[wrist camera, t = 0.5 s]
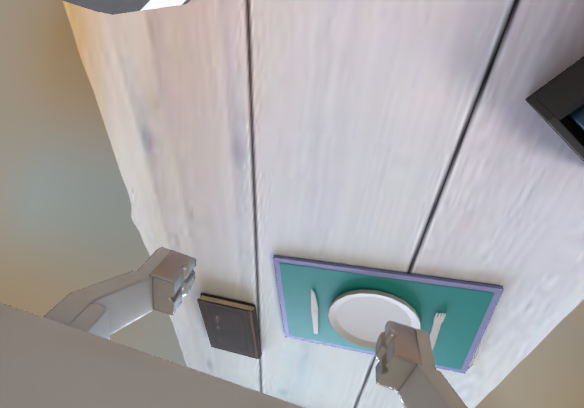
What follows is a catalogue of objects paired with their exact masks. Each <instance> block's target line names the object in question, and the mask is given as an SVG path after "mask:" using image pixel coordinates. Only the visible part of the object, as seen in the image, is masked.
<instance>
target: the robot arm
mask: <svg viewBox="0 0 584 408" xmlns="http://www.w3.org/2000/svg"><path fill="white" fill-rule="evenodd" d="M195 266H196V259H195V258H193V257H190V256H187V255H184V254H182V253H179V252H176V251H172V250H169V249H166V248H164V247H161V248H159V249H157V250H156V251H155V252H154V254H153V255H152V256H151V257H150V258H149V259H148V260H147V261H146V262H145V263H144V264H143V265H142V266H141V267H140V268H139V269H138V270H137V271H131V272H128V273H125V274H122V275H119V276H117V277H113V278H111V279H108V280H105V281H103V282H100V283H97V284H94V285H91V286H88V287H85V288H83V289H80V290H77V291H74V292H71V293H70V294H68V295H67V296H66V297H65V298H64V299H63V300H62V301H61V302H59V303H58V304H57V305H56V306H55V307H54V308H53V309H52V310H50V311H49V312H48V313H47V314H46V315H45V316H44V317H42V316H39V315H36V314H33V313H30V312H28V311H24V310H22V309H18V308H16V307H13V306H10V305H7V304H4V303H2V302H0V408H304V407H301V406H298V405H295V404H292V403H289V402H286V401H284V400H281V399H278V398H275V397H272V396H269V395H266V394H263V393H261V392H258V391H255V390H252V389H249V388H246V387H243V386H240V385H238V384H235V383H232V382H229V381H226V380H223V379H220V378H218V377H215V376H212V375H209V374H206V373H203V372H200V371H197V370H195V369H192V368H189V367H186V366H182V365H180V364H177V363H174V362H171V361H169V360H166V359H163V358H160V357H157V356H154V355H151V354H148V353H145V352H143V351H139V350H137V349H134V348H131V347H128V346H125V345H122V344H120V343H117V342H114V341H111V338H110V335H111V334H113V333H114V332H116V331H118V330H119V329H121V328H123V327H125V326H127V325H128V324H130V323H132V322H134V321H135V320H137V319H139V318H141V317H142V316H144V315H146V314H148V313H149V312H151V311H152V310H153V309H154V310H157V311H160V312H163V313H167V314H170V315H174V313H175V312H176V310H177V309H178V307H179V306H180V304H181V303H182V297H183V296H185V295H187V294H188V293H189V291H190V290H191V287H192V285H193V283H194V279H195V272H194V270H193V269H194V267H195ZM375 357H376V359H377V360H378V364H377V366H376V384H379V385H381V386H384V387H387V388H389V389H392V390H395V391H398V392H397V393H398V395H399V397H400V399H401V401H402V403H403V405H404V407H405V408H467V406H466V405H465V404H464V402H463V401H462V400H461V398H460V397H459V396H458V394H457V393H456V392H455V390H454V389H453V388H452V387H451V385H450V384H449V383H448V381H447V380H446V379H445V377H444V376H443V375H442V373H441V372H440V371H437V370H436V366H435V361H434V356H433V351H432V347H431V342H430V337H429V334H428V332H426V331H423V330H420V329H417V328H413V327H410V326H407V325H404V324H400V323H397V322H394V321H391V320H389V321H388V322H387V323H386V325H385V332H382V333H380V335H379V337H378V340H377V343H376V350H375Z"/></svg>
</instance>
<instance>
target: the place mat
mask: <svg viewBox="0 0 584 408" xmlns="http://www.w3.org/2000/svg"><path fill="white" fill-rule="evenodd" d="M273 259H274V266H275V272H276V279H277V285H278V292H279V298H280V305H281V311H282V318H283V324H284V331H285V337H287V338H292V339H297V340H302V341H307V342H312V343H317V344H322V345H327V346H332V347H337V348H341V349H346V350H351V351H356V352H361V353H366V354H371V355H375V350H376V343H377V340H378V337H379V335H380V333H382V332H385V325H386V323H387V322H388V321H389V320H391V321H394V322H397V323H400V324H404V325H407V326H410V327H413V328H417V329H420V330H423V331H426V332H428V334H429V337H430V342H431V347H432V351H433V356H434V361H435V366H436V368H440V369H445V370H450V371H455V372H459V373H464V374H465V373H466V371H467V369H468V366H469V364H470V362H471V360H472V358H473V355H474V353H475V351H476V349H477V347H478V344H479V342H480V340H481V338H482V336H483V333H484V331H485V329H486V327H487V325H488V322H489V320H490V318H491V316H492V314H493V311H494V309H495V307H496V305H497V303H498V300H499V298H500V296H501V294H502V292H503V290H504V289H503V286H498V285H490V284H483V283H476V282H468V281H461V280H453V279H446V278H439V277H431V276H424V275H417V274H409V273H402V272H394V271H387V270H380V269H372V268H365V267H358V266H350V265H343V264H335V263H328V262H321V261H313V260H306V259H299V258H291V257H284V256H276V255H274V257H273Z"/></svg>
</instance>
